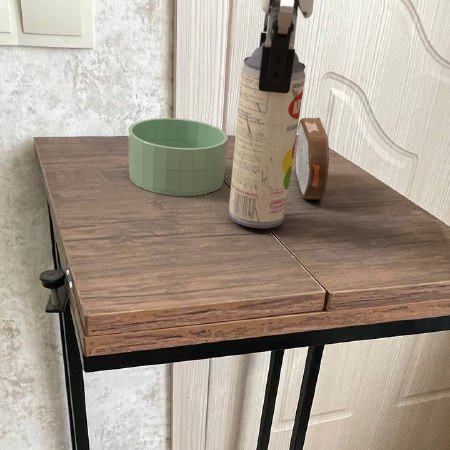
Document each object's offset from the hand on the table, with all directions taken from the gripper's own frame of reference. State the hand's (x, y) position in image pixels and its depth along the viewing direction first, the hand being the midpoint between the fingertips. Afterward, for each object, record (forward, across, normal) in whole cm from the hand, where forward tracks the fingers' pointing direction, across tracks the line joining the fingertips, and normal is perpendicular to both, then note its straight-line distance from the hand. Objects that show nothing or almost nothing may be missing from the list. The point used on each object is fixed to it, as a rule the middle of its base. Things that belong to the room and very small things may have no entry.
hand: (272, 81), depth 67 cm
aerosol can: (+15, 0, 0) cm, 15 cm away
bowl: (+16, +12, +11) cm, 23 cm away
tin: (+16, +13, -7) cm, 22 cm away
